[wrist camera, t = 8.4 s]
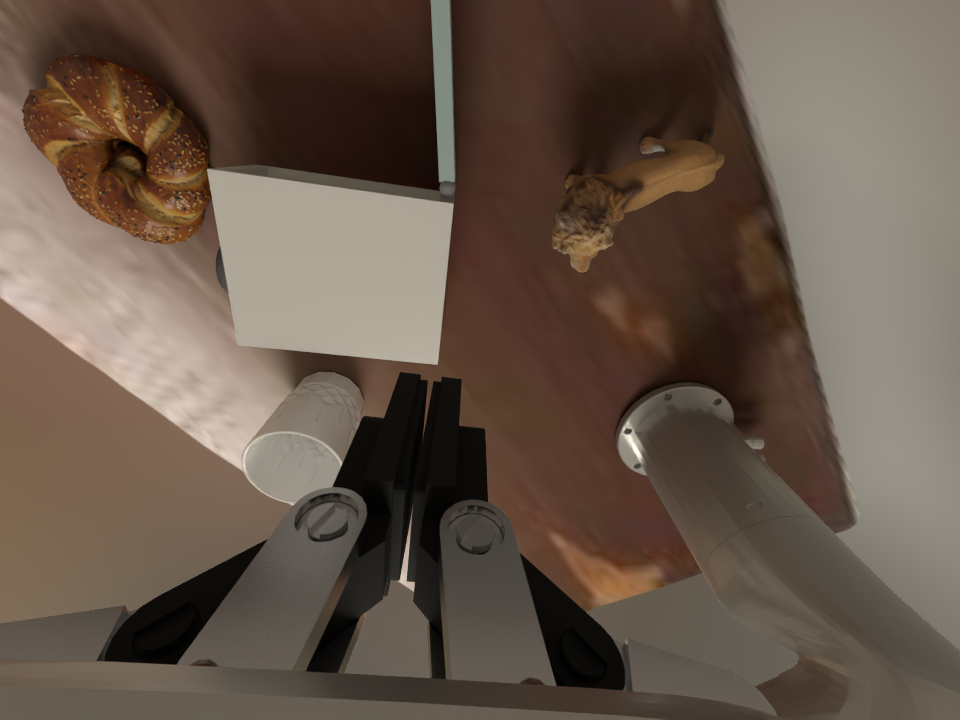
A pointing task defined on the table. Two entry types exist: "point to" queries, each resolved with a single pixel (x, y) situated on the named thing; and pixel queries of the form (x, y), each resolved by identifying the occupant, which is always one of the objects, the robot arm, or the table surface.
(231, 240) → the case
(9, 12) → the table surface
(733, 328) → the table surface
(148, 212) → the pretzel
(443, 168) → the door
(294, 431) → the white cup
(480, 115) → the table surface
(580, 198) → the lion figurine
